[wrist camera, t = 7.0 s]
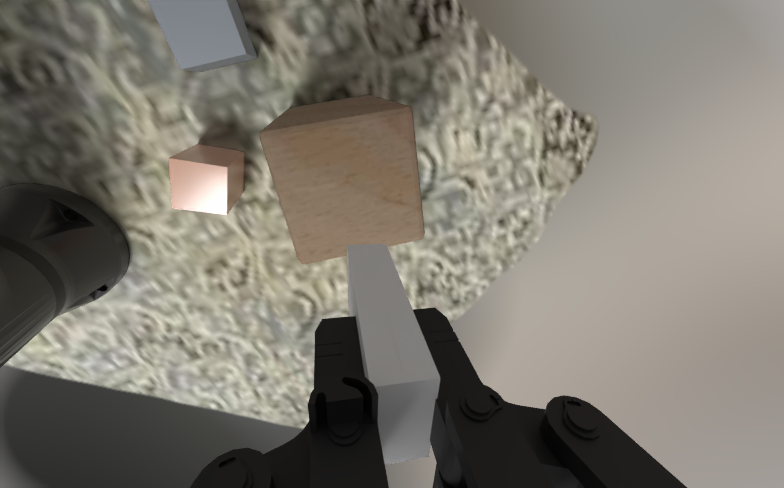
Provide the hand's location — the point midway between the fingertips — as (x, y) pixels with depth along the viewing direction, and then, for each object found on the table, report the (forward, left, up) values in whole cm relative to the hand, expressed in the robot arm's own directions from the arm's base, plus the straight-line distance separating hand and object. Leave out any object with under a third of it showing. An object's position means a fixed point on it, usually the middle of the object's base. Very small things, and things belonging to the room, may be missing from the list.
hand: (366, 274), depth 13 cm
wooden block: (0, 0, -31) cm, 31 cm away
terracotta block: (-14, -3, -31) cm, 34 cm away
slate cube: (-12, +11, -31) cm, 35 cm away
